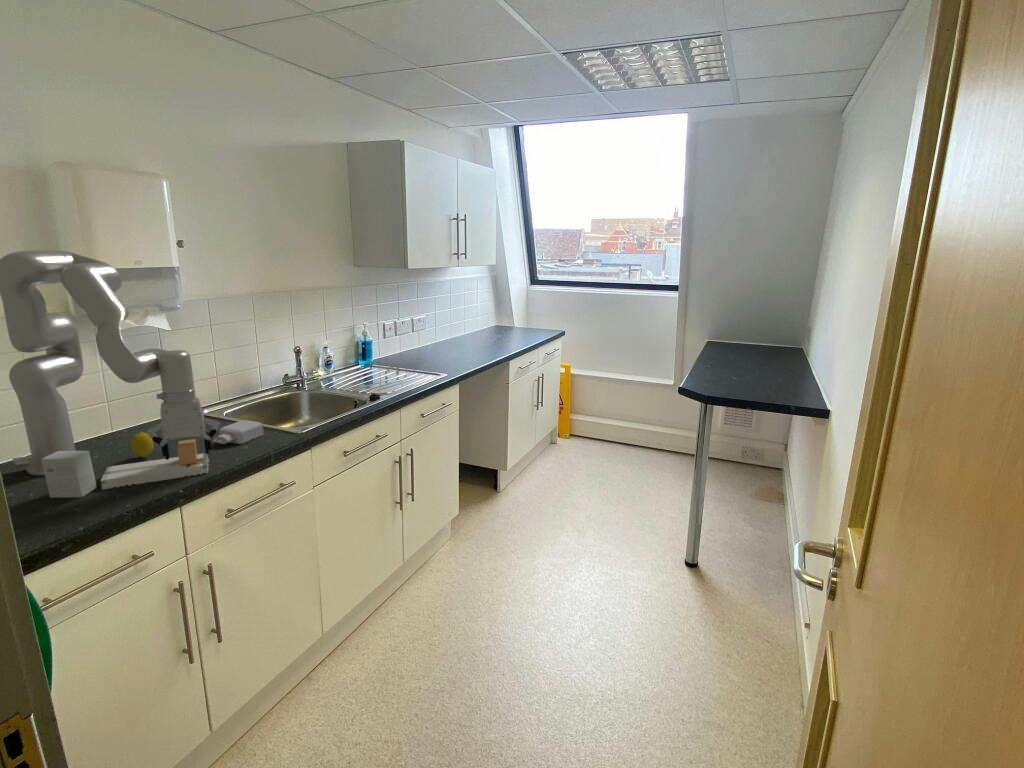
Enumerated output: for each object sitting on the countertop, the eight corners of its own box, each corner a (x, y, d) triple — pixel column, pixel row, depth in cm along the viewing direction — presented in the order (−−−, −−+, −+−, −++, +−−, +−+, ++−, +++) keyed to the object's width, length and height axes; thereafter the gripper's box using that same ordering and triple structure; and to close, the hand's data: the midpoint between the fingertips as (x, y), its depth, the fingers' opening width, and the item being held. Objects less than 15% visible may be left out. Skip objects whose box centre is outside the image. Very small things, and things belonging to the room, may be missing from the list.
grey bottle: (204, 447, 173) (242, 432, 186) (227, 451, 170) (264, 436, 183) (202, 433, 171) (240, 419, 185) (225, 436, 168) (262, 422, 182)
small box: (97, 488, 143) (90, 450, 140) (81, 498, 138) (74, 458, 135) (65, 488, 143) (57, 450, 140) (48, 498, 137) (40, 458, 135)
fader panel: (102, 489, 142) (100, 480, 142) (109, 475, 151) (107, 466, 150) (207, 473, 153) (206, 464, 152) (208, 460, 162) (207, 452, 161)
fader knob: (180, 469, 151) (177, 448, 150) (181, 461, 157) (178, 441, 155) (197, 466, 153) (194, 445, 152) (197, 459, 158) (195, 439, 157)
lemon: (151, 452, 167) (147, 427, 165) (158, 457, 164) (154, 431, 162) (130, 457, 163) (125, 432, 161) (136, 462, 160) (132, 436, 158)
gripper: (140, 403, 143) (150, 465, 147) (215, 396, 151) (222, 454, 155) (143, 396, 149) (153, 455, 154) (215, 389, 157) (222, 446, 161)
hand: (188, 455), depth 154 cm, fingers open, 9 cm apart
